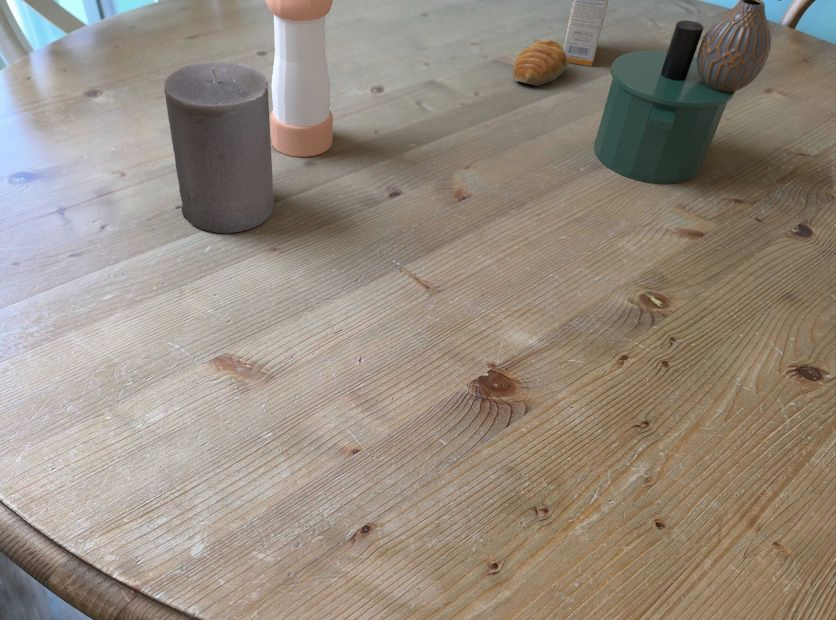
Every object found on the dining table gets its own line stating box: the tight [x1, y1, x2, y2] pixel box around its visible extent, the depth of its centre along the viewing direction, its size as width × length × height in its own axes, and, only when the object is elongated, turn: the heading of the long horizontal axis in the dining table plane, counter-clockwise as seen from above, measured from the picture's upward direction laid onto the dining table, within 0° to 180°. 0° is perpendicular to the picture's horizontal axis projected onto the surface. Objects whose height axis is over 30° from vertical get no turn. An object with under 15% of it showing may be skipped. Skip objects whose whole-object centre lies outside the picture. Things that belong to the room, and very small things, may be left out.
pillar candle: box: [163, 61, 275, 234], centre depth 74 cm, size 10×10×15 cm
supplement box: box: [563, 0, 610, 67], centre depth 108 cm, size 8×5×13 cm, turn 163°
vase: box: [696, 0, 772, 92], centre depth 80 cm, size 7×7×9 cm
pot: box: [593, 78, 728, 185], centre depth 88 cm, size 13×18×10 cm
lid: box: [610, 20, 737, 108], centre depth 82 cm, size 14×14×7 cm
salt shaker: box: [265, 0, 334, 158], centre depth 83 cm, size 7×7×19 cm
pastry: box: [512, 39, 569, 87], centre depth 105 cm, size 9×7×4 cm
